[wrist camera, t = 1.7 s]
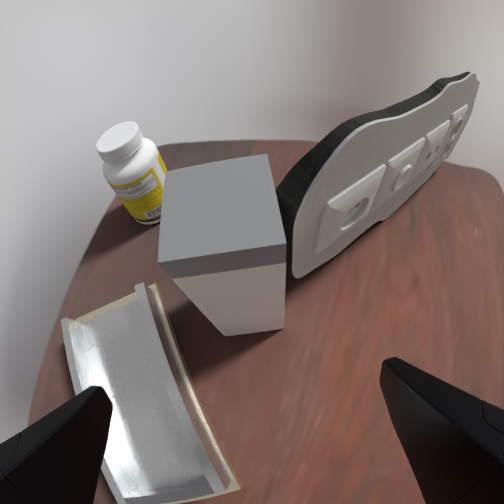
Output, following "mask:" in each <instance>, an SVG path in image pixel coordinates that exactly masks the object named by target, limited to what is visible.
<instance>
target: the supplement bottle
mask: <svg viewBox="0 0 504 504" xmlns="http://www.w3.org/2000/svg"><path fill="white" fill-rule="evenodd" d="M96 149H97V151H98V153H99V155H100V156H101V158H102V159H103V161H104V165H103V174H104V176H105V178H106V180H107V182H108V183H109V184H110V186H111V187H112V189H113V190H114V192H115V193H116V194H117V196H118V197H119V199H120V200H121V202H122V203H123V204H124V206H125V207H126V209H127V210H128V211H129V213H130V214H131V215H132V217H133V218H134V219H135V220H136V221H137V222H139V223H142V224H155V223H158V222H160V221H161V209H162V199H163V190H164V181H165V173H166V172H167V169H166V167H165V165H164V162H163V160H162V158H161V156H160V154H159V151H158V149H157V147H156V146H155V144H154V143H153V142H152V141H151V140H149V139H147V138H143V136H142V134H141V132H140V130H139V128H138V125H137V124H136V123H135V122H130V121H129V122H123V123H120V124H117V125H115V126H113V127H112V128H110V129H109V130H108V131H106V132H105V133H104V134H103V135H102V136H101V137H100V139H99V140H98V142H97V145H96Z"/></svg>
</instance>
